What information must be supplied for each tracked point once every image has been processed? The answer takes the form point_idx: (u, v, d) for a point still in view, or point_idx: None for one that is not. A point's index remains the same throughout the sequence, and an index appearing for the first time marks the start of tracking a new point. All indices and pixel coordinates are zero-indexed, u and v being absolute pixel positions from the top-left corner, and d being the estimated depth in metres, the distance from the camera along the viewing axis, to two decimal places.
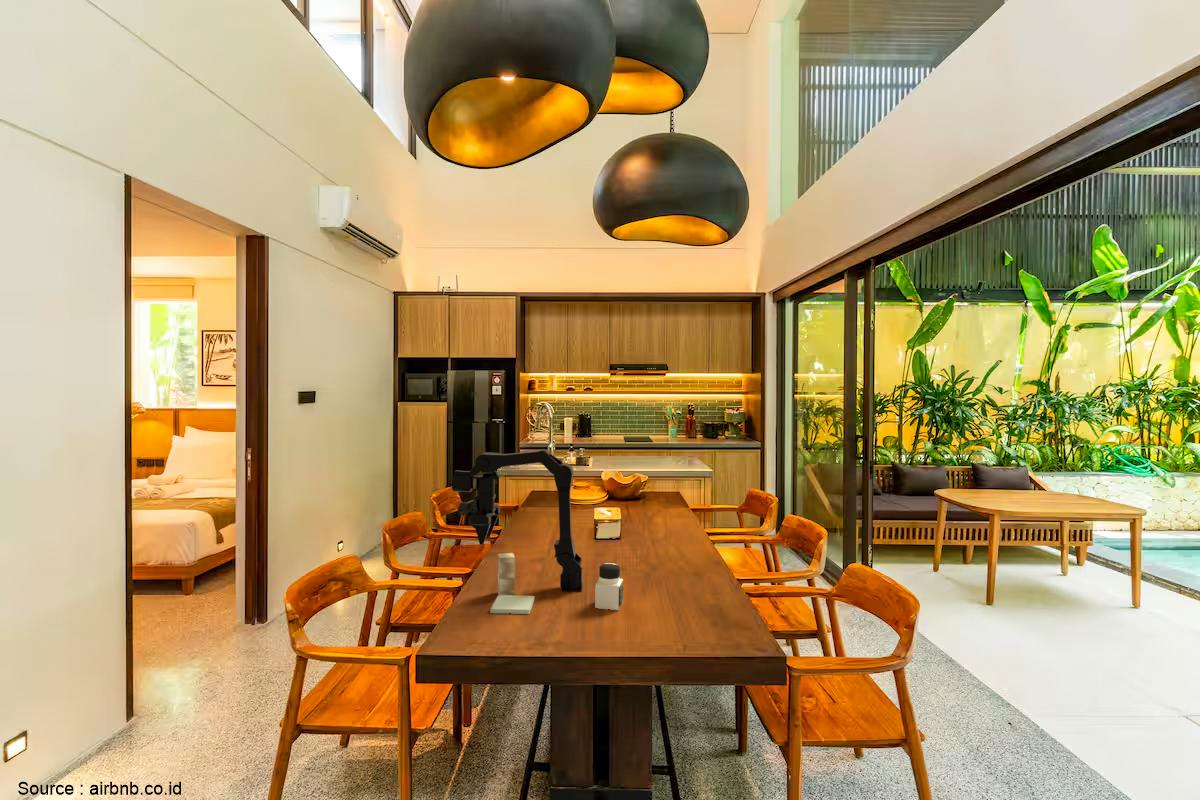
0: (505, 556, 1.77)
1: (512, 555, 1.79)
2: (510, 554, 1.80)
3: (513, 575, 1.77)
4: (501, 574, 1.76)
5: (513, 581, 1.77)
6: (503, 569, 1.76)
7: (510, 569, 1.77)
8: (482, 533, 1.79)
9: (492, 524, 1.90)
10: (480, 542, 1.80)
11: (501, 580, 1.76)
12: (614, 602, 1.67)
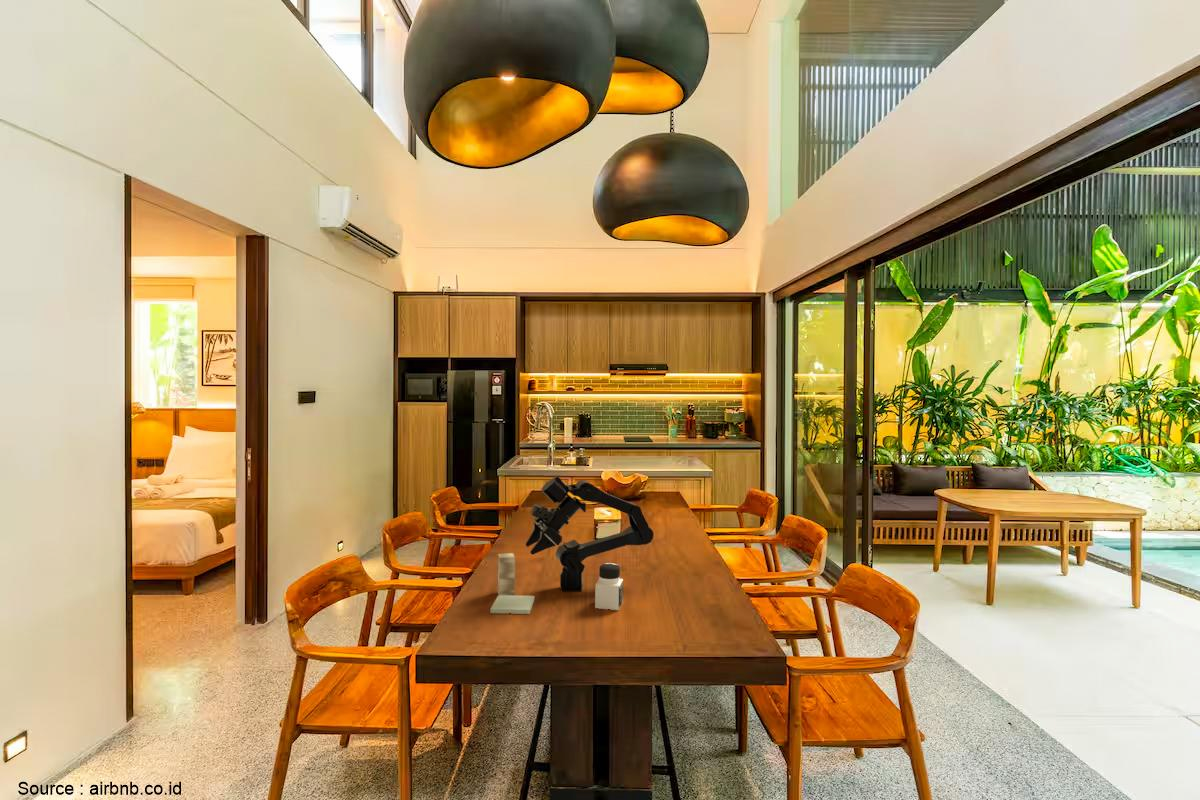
0: (505, 556, 1.77)
1: (512, 555, 1.79)
2: (510, 554, 1.80)
3: (513, 575, 1.77)
4: (501, 574, 1.76)
5: (513, 581, 1.77)
6: (503, 569, 1.76)
7: (510, 569, 1.77)
8: (541, 546, 1.76)
9: (538, 538, 1.86)
10: (533, 551, 1.76)
11: (501, 580, 1.76)
12: (614, 602, 1.67)
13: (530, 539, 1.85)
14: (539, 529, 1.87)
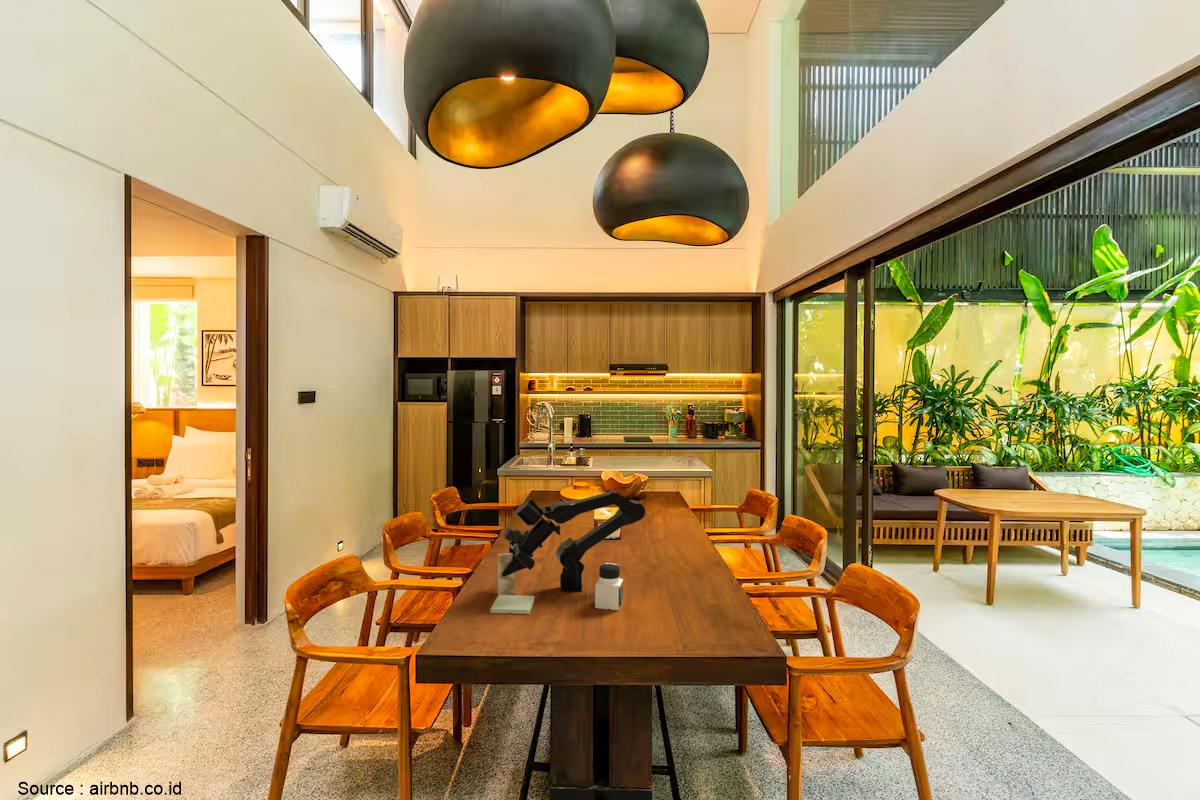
0: (505, 556, 1.77)
1: None
2: (510, 554, 1.80)
3: (513, 575, 1.77)
4: (501, 574, 1.76)
5: (513, 581, 1.77)
6: (503, 569, 1.76)
7: None
8: (513, 568, 1.76)
9: None
10: (504, 573, 1.76)
11: (501, 580, 1.76)
12: (614, 602, 1.67)
13: None
14: (514, 553, 1.82)
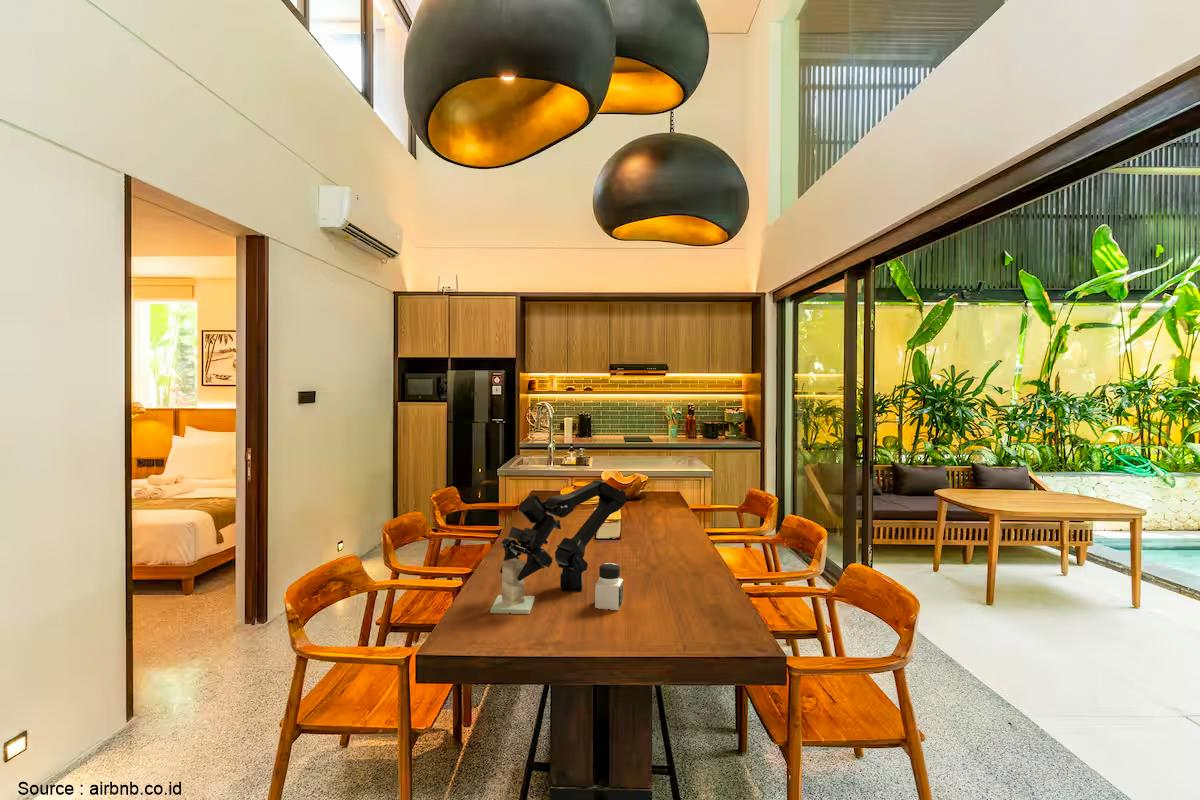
0: (514, 562, 1.67)
1: (519, 560, 1.70)
2: (515, 559, 1.70)
3: (523, 581, 1.68)
4: (513, 581, 1.66)
5: (523, 587, 1.68)
6: (514, 576, 1.66)
7: None
8: (529, 570, 1.66)
9: None
10: (520, 577, 1.65)
11: (513, 588, 1.66)
12: (614, 602, 1.67)
13: None
14: (512, 553, 1.74)
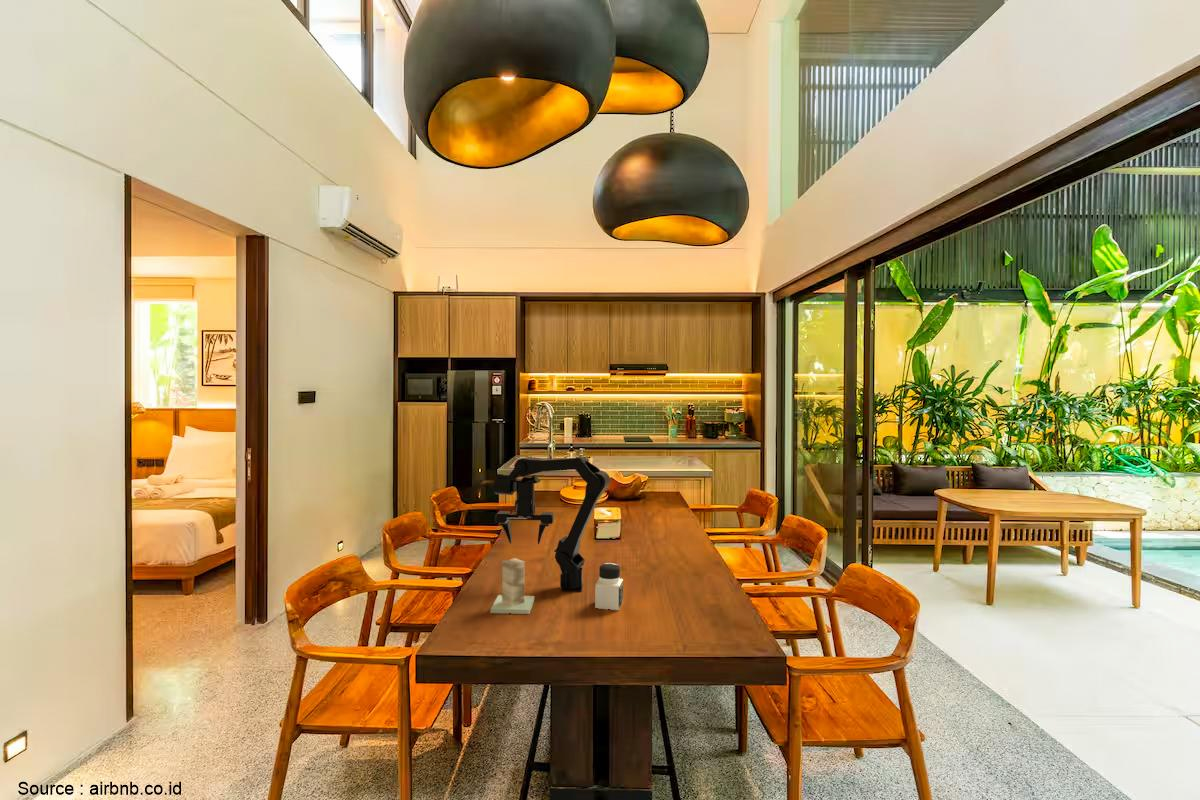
0: (514, 562, 1.67)
1: (519, 560, 1.70)
2: (515, 559, 1.70)
3: (523, 581, 1.68)
4: (513, 581, 1.66)
5: (523, 587, 1.68)
6: (514, 576, 1.66)
7: (521, 575, 1.68)
8: None
9: None
10: None
11: (513, 588, 1.66)
12: (614, 602, 1.67)
13: None
14: None
